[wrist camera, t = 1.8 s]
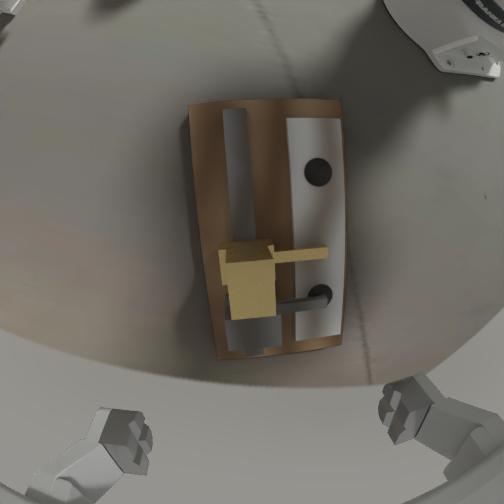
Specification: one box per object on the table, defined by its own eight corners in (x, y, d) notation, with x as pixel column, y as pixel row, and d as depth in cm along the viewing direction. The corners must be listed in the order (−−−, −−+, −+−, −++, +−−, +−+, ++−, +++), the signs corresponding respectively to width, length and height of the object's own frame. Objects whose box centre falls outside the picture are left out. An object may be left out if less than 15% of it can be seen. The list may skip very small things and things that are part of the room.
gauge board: (333, 104, 25) (368, 84, 17) (336, 336, 32) (360, 377, 25) (191, 109, 24) (176, 87, 17) (218, 350, 32) (216, 397, 24)
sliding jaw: (326, 227, 25) (362, 250, 18) (326, 269, 27) (358, 304, 19) (218, 236, 25) (213, 264, 18) (223, 279, 26) (221, 320, 19)
